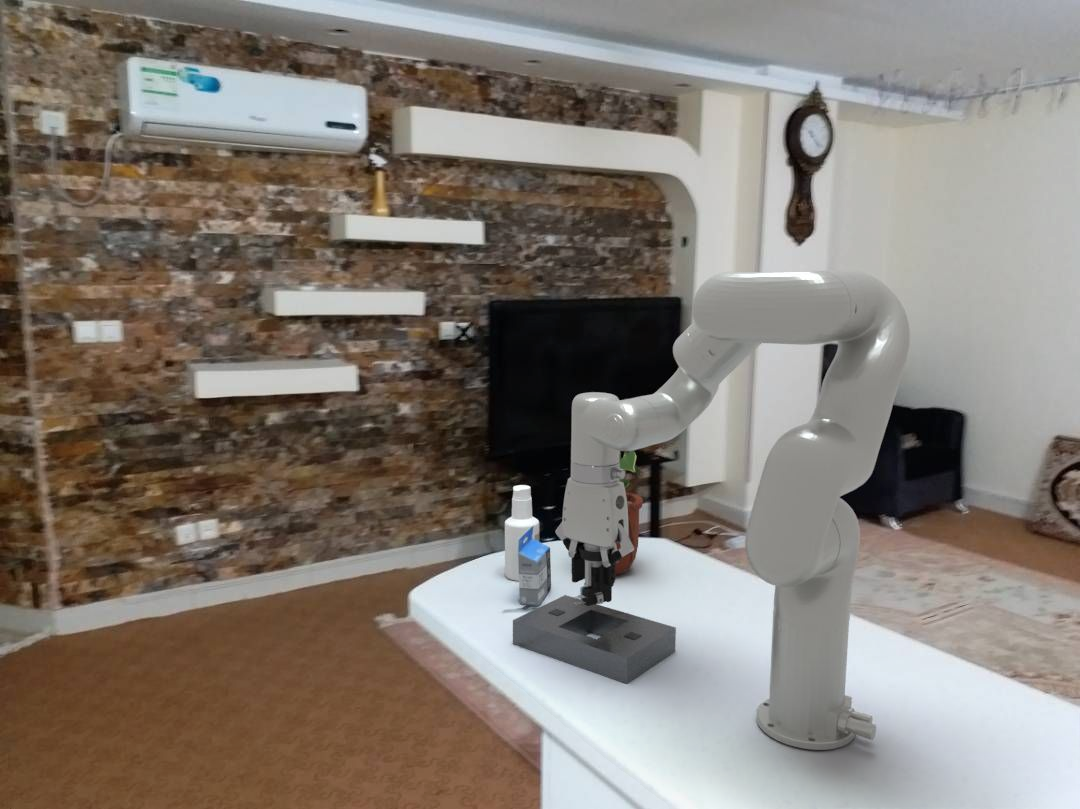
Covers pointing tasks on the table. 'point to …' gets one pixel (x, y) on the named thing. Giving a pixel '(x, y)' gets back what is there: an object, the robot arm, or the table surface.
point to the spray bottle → (518, 528)
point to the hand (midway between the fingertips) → (592, 582)
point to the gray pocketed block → (614, 655)
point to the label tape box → (533, 570)
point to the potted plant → (630, 512)
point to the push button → (592, 577)
